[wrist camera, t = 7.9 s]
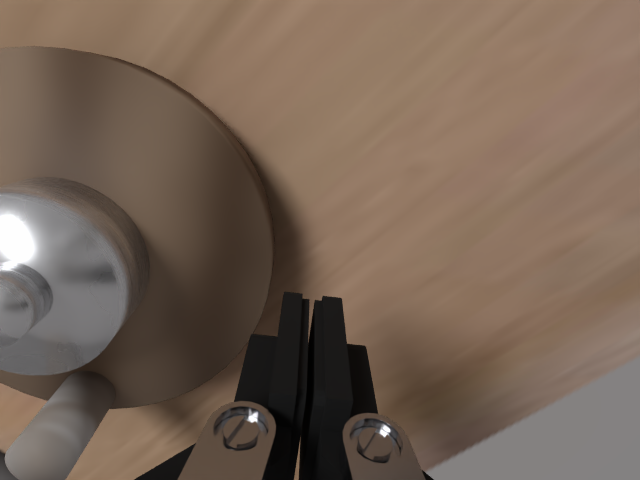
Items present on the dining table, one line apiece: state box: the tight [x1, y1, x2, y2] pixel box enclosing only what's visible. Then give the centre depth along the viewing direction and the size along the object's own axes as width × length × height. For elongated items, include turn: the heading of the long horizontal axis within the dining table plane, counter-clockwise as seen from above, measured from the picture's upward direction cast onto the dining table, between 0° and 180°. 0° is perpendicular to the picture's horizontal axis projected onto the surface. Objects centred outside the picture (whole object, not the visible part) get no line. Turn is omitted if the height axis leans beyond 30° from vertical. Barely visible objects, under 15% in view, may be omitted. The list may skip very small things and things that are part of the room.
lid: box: [0, 177, 150, 375], centre depth 15 cm, size 7×7×4 cm
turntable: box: [0, 46, 275, 480], centre depth 16 cm, size 16×16×6 cm
